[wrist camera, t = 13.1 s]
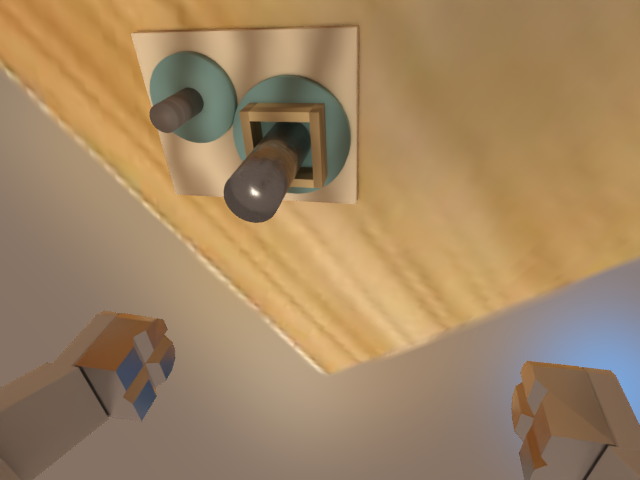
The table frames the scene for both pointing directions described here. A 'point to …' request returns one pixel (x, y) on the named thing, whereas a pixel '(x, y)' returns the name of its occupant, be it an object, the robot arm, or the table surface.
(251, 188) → the axle
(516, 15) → the table surface
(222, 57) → the gear board
